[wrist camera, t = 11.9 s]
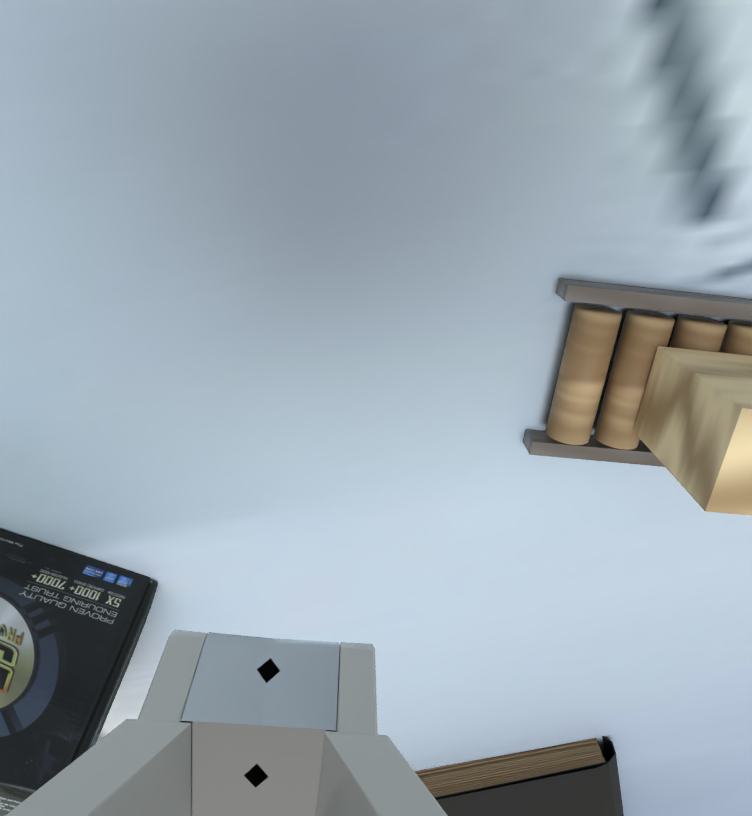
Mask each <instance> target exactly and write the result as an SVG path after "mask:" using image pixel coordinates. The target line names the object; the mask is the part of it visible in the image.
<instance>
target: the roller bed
mask: <svg viewBox="0 0 752 816" xmlns="http://www.w3.org/2000/svg"><path fill="white" fill-rule="evenodd" d="M556 294H557V295H558V296H560V297H561V298H562V299H563V300H564V301H572V302H582V303H591V304H601V305H610V306H620V307H629V308H639V309H648V310H657V311H667V312H676V313H686V314H695V315H705V316H714V317H724V318H733V319H742V320H752V299H746V298H736V297H727V296H718V295H709V294H699V293H690V292H681V291H672V290H662V289H653V288H644V287H635V286H625V285H616V284H607V283H598V282H588V281H579V280H570V279H561V278H559V281H558V286H557V291H556ZM621 318H622V313H620V312H619V311H616V310H614V309H611V308H607V307H603V306H598V305H590V304H578V305H575V307H574V311H573V316H572V320H571V324H570V328H569V333H568V337H567V341H566V345H565V350H564V354H563V358H562V362H561V367H560V371H559V375H558V380H557V384H556V388H555V392H554V397H553V401H552V405H551V409H550V414H549V418H548V422H547V427H546V431H537V430H526V431H525V435H524V440H523V443H524V445H525V447H526V449H527V450H528V452H529V454H530V455H541V456H552V457H563V458H574V459H586V460H597V461H608V462H619V463H630V464H641V465H652V466H663V467H665V466H664V465H663V464H662V463H661V462H660V460H659V459H658V458H657V457H656V456H655V455H654V454H653V453H652V452H651V450H650V449H649V448H648V447H647V446H646V445H645V444H644V443H643V442H642V440H640V438H639V437H638V436H637V435H636V434H635V433H634V432H633V430H634V426H635V423H636V420H637V416H638V413H639V409H640V406H641V403H642V399H643V396H644V392H645V389H646V385H647V382H648V379H649V375H650V372H651V368H652V365H653V361H654V358H655V355H656V351H657V348H658V346H662V347H667V346H668V343H669V339H670V336H671V333H672V329H673V326H674V322H675V320H674V319H673V318H672V317H669V316H667V315H664V314H660V313H656V312H652V311H646V310H635V309H633V310H627V312H626V316H625V319H624V323H623V327H622V331H621V334H620V338H619V342H618V346H617V349H616V353H615V357H614V361H613V364H612V368H611V372H610V376H609V379H608V383H607V387H606V391H605V394H604V398H603V402H602V406H601V409H600V413H599V417H598V421H597V424H596V428H595V432H594V436H591V431H592V428H593V424H594V420H595V416H596V412H597V409H598V405H599V401H600V397H601V394H602V390H603V386H604V382H605V378H606V375H607V371H608V367H609V363H610V360H611V356H612V352H613V348H614V344H615V341H616V337H617V333H618V329H619V326H620V322H621ZM669 347H672V348H681V349H691V350H701V351H711V352H721V353H730V354H740V355H750V356H752V322H749V321H741V320H730V321H729V322H728V325H726V324H724V323H722V322H720V321H717V320H713V319H710V318H705V317H700V316H694V315H679V316H678V318H677V321H676V325H675V328H674V332H673V335H672V338H671V342H670V345H669Z"/></svg>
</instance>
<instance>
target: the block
mask: <svg viewBox="0 0 752 816" xmlns="http://www.w3.org/2000/svg"><path fill="white" fill-rule="evenodd" d="M633 432H634V433H635V434H636V435H637V436H638V437H639V438H640V439H641V440H642V442H643V443H644V444H645V445H646V446H647V447H648V448H649V449H650V450H651V452H652V453H653V454H654V455H655V456H656V457H657V458H658V459H659V460H660V462H661V463H662V464H663V465H664V466H665V467H666V468H667V469H668V470H669V472H670V473H671V474H672V475H673V476H674V477H675V478H676V479H677V481H678V482H679V483H680V484H681V485H682V486H683V487H684V488H685V489H686V491H687V492H688V493H689V494H690V495H691V496H692V497H693V498H694V499H695V501H696V502H697V503H698V504H699V505H700V506H701V507H702V508H703V509H704V511H707V512H719V513H730V514H742V515H752V356H750V355H740V354H730V353H721V352H711V351H701V350H691V349H681V348H672V347H662V346H658V348H657V351H656V355H655V358H654V361H653V365H652V368H651V372H650V375H649V379H648V382H647V385H646V389H645V392H644V396H643V399H642V403H641V406H640V409H639V413H638V416H637V420H636V423H635V426H634V430H633Z"/></svg>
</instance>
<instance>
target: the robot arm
mask: <svg viewBox="0 0 752 816" xmlns="http://www.w3.org/2000/svg"><path fill="white" fill-rule="evenodd" d="M5 816H447V814H446V813H445V812H444V810H443V809H442V808H441V806H440V805H439V804H438V802H437V801H436V800H435V798H434V797H433V796H432V794H431V793H430V792H429V790H428V789H427V788H426V786H425V785H424V784H423V782H422V781H421V780H420V778H419V777H418V776H417V774H416V773H415V771H414V770H413V769H412V767H411V766H410V765H409V763H408V762H407V761H406V759H405V758H404V757H403V755H402V754H401V753H400V751H399V750H398V749H397V747H396V746H395V745H394V743H393V742H392V741H391V739H390V738H389V737H388V736H386V735H377V703H376V670H375V648H374V646H373V644H362V643H344V642H341V643H340V644H339V643H338V642H322V641H306V640H291V639H272V638H262V637H251V636H241V635H231V634H220V633H210V632H209V633H201V632H192V631H182V630H174V631H173V632H172V634H171V635H170V636H169V638H168V641H167V643H166V646H165V648H164V651H163V654H162V656H161V659H160V662H159V664H158V667H157V670H156V672H155V675H154V678H153V680H152V683H151V686H150V688H149V691H148V693H147V696H146V699H145V701H144V704H143V707H142V709H141V712H140V715H139V717H138V720H137V719H126V720H125V721H124V722H123V723H121V724H120V725H119V726H117V727H116V728H115V729H114V730H112V731H111V732H110V733H109V734H107V735H106V736H105V737H104V738H102V739H101V740H100V741H99V742H97V743H96V744H95V745H94V746H92V747H91V748H90V749H88V750H87V751H86V752H85V753H83V754H82V755H81V756H80V757H78V758H77V759H76V760H75V761H73V762H72V763H71V764H70V765H68V766H67V767H66V768H65V769H63V770H62V771H61V772H59V773H58V774H57V775H56V776H54V777H53V778H52V779H51V780H49V781H48V782H47V783H46V784H44V785H43V786H42V787H41V788H39V789H38V790H37V791H36V792H34V793H33V794H32V795H30V796H29V797H28V798H27V799H25V800H24V801H23V802H22V803H20V804H19V805H18V806H17V807H15V808H14V809H13V810H12V811H10V812H9V813H8V814H7V815H5Z"/></svg>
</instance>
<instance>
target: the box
mask: <svg viewBox="0 0 752 816" xmlns="http://www.w3.org/2000/svg"><path fill="white" fill-rule="evenodd" d="M157 586H158V584H157V583H154V582H153V581H151V579H150V578H149V577H147V576H144V575H140V574H138V573H134V572H131V571H127V570H125V569H122V568H119V567H116V566H112V565H109V564H106V563H104V562H100V561H97V560H94V559H91V558H87V557H85V556H81V555H78V554H76V553H72V552H69V551H66V550H63V549H59V548H56V547H53V546H50V545H47V544H44V543H41V542H38V541H34V540H31V539H28V538H25V537H22V536H19V535H16V534H13V533H9V532H6V531H3V530H0V816H5V815H7V814H8V813H9V812H10V811H12V810H13V809H14V808H15V807H17V806H18V805H19V804H20V803H22V802H23V801H24V800H25V799H27V798H28V797H29V796H30V795H32V794H33V793H34V792H36V791H37V790H38V789H39V788H41V787H42V786H43V785H44V784H46V783H47V782H48V781H49V780H51V779H52V778H53V777H54V776H56V775H57V774H58V773H59V772H61V771H62V770H63V769H65V768H66V767H67V766H68V765H70V764H71V763H72V762H73V761H75V760H76V759H77V758H78V757H80V756H81V755H82V754H83V753H85V752H86V751H87V750H88V749H90V748H91V747H92V746H94V745H95V744H96V741H97V739H98V737H99V734H100V732H101V730H102V728H103V725H104V722H105V720H106V718H107V715H108V713H109V710H110V708H111V706H112V703H113V701H114V698H115V696H116V694H117V691H118V689H119V687H120V684H121V681H122V679H123V677H124V674H125V672H126V670H127V667H128V665H129V662H130V660H131V657H132V655H133V652H134V650H135V647H136V645H137V642H138V640H139V637H140V634H141V632H142V629H143V627H144V624H145V622H146V619H147V616H148V613H149V610H150V608H151V604H152V601H153V598H154V595H155V592H156V588H157Z"/></svg>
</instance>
